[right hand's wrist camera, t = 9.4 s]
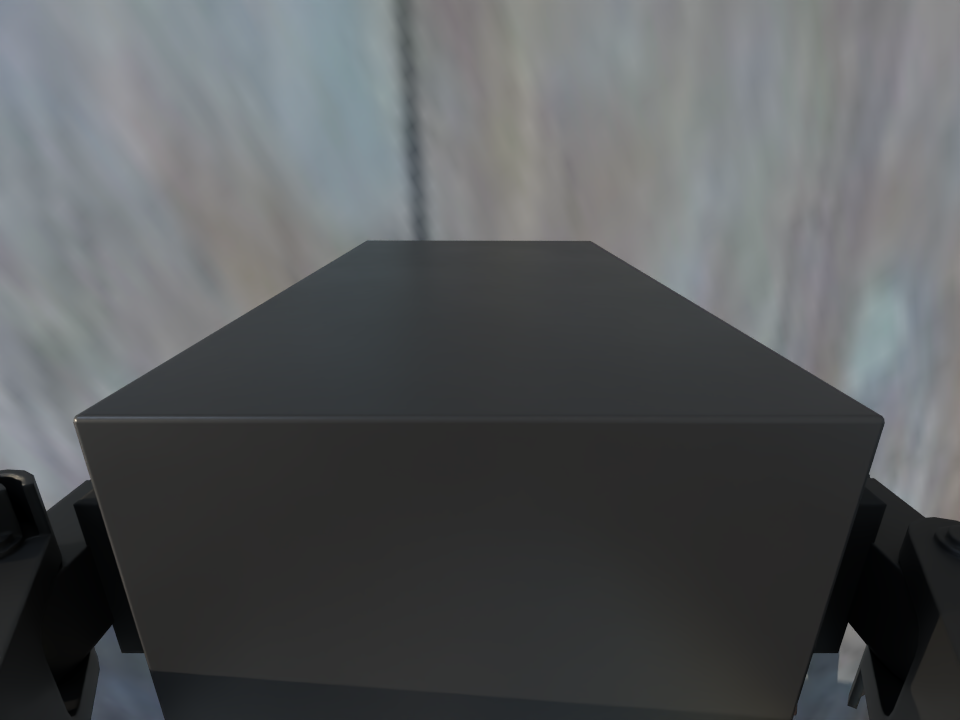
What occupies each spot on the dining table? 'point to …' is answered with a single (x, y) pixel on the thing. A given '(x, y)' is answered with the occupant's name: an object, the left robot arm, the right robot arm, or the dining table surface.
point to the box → (478, 498)
